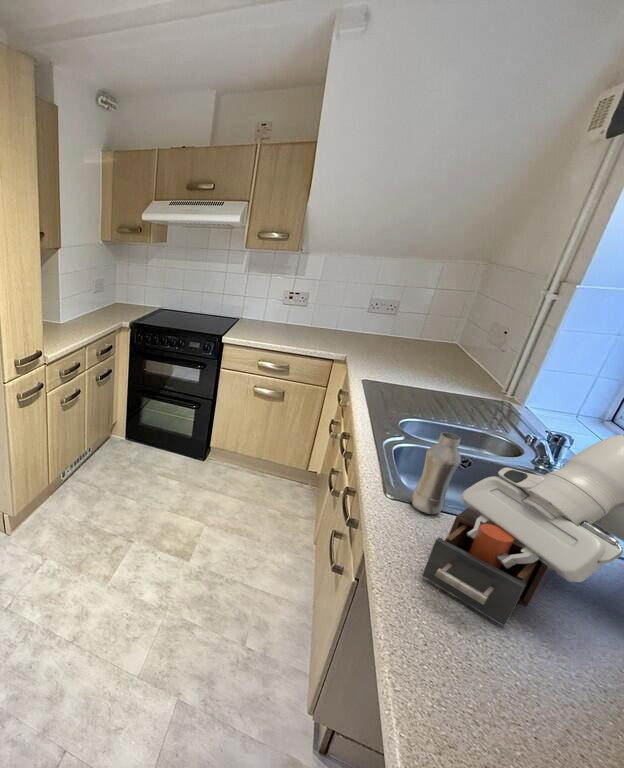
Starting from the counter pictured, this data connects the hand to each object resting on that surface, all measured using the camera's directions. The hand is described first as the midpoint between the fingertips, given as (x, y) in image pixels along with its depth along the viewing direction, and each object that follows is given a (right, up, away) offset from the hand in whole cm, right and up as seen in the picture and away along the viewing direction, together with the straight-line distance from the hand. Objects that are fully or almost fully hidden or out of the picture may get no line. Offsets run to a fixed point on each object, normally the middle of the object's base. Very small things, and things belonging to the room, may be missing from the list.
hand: (485, 550), depth 74 cm
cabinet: (+11, -7, +9) cm, 16 cm away
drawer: (0, -8, +3) cm, 9 cm away
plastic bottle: (+8, 0, +26) cm, 27 cm away
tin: (+1, -5, +2) cm, 5 cm away
